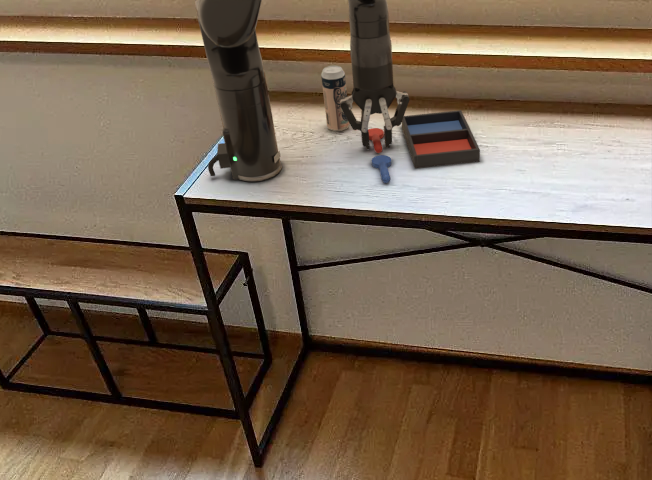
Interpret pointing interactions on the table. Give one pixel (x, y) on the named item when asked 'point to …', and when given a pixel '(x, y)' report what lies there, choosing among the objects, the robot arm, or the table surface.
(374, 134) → the red spoon
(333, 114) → the beer can
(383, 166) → the blue spoon
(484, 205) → the table surface
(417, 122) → the sorting tray
